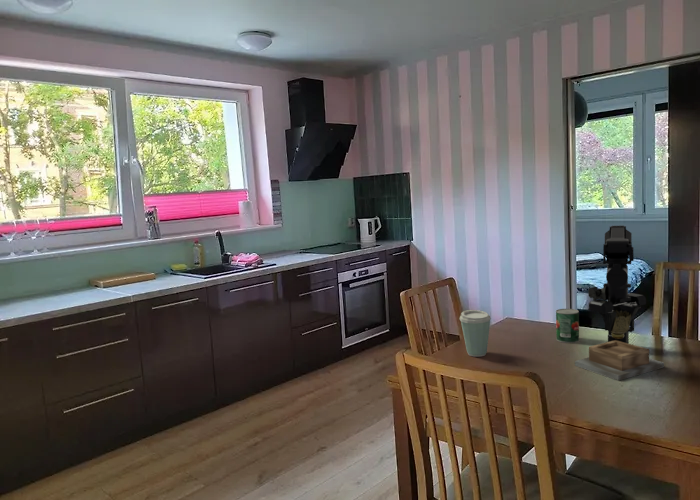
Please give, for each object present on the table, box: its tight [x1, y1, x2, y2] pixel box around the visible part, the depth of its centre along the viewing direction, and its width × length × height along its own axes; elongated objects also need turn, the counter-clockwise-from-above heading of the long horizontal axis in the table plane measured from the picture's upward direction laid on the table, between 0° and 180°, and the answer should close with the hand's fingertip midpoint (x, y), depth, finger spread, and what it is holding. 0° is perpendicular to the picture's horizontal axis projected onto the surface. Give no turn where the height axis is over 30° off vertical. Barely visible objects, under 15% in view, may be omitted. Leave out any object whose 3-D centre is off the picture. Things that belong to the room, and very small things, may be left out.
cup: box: [611, 310, 631, 339], centre depth 166 cm, size 8×7×8 cm
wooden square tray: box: [574, 340, 665, 382], centre depth 167 cm, size 20×16×6 cm
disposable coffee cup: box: [458, 309, 492, 358], centre depth 187 cm, size 11×11×15 cm
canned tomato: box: [555, 308, 580, 344], centre depth 197 cm, size 8×8×11 cm
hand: (617, 329), depth 166 cm, fingers closed on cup, 6 cm apart
